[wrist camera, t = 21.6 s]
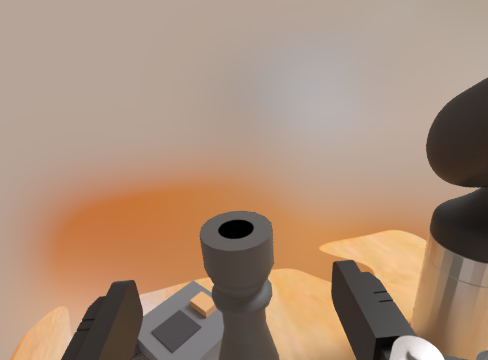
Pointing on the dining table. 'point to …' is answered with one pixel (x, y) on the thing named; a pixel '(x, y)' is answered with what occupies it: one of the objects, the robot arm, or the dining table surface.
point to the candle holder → (241, 281)
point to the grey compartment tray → (182, 327)
